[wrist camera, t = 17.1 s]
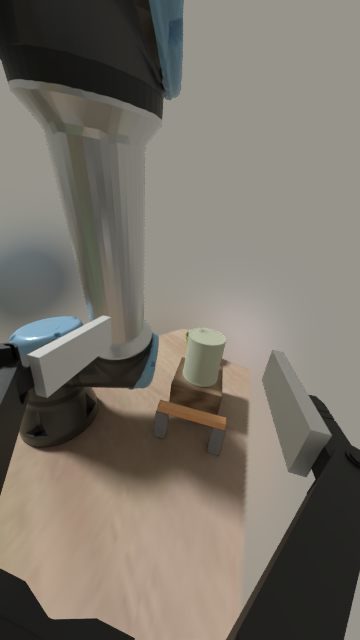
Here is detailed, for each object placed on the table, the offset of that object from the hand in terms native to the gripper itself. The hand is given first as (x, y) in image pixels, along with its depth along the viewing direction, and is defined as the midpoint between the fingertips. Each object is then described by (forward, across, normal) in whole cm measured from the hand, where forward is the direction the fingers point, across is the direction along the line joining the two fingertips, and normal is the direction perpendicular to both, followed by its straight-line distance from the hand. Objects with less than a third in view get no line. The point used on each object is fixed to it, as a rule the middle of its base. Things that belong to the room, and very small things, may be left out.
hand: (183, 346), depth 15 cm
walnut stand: (+28, +1, -32) cm, 42 cm away
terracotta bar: (+16, +1, -25) cm, 29 cm away
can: (+27, +2, -23) cm, 36 cm away
